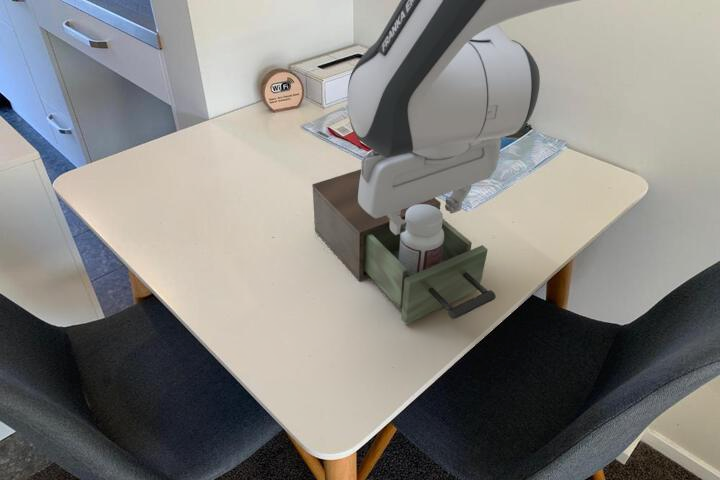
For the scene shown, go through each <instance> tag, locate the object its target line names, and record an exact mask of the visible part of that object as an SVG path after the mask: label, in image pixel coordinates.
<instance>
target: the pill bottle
mask: <svg viewBox="0 0 720 480" xmlns="http://www.w3.org/2000/svg"><path fill="white" fill-rule="evenodd" d="M443 219H444V215H443V212H442V211H441V209H440V210H439V209H438V208H436V207H434V206H431V205H426V204H418V205H414V206H412V207H410V208H409V209H408V210H407V211H406V214H405V221H406V227H405V228H406V231H405V232H403V233H401V234H400V249H399V262H400V263H401V264H402V265H403V266H404V267H406V268H407V269H408V272H407V277H409V276H412V275H414V274H416V273H418V272H421V271H423V270H425V269H428V268H430V267H432V266H435V265H437V264H439V263H441V256H442V249H443V242H444V232H443V229H442V221H443Z"/></svg>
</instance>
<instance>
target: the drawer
mask: <svg viewBox="0 0 720 480" xmlns="http://www.w3.org/2000/svg"><path fill="white" fill-rule="evenodd" d="M442 229H443V232H444V242H443V249H442V256H441V263H439V264H437V265H435V266H432V267H430V268H428V269H425V270H423V271H421V272H418V273H416V274H414V275H412V276H409V277H407V272H408V269H407V268H406V267H404V266H403V265H402V264H401V263H400V262H399V249H400V234H401V233H400V234H398V235H395V234H394V233H393V232H392V231H391V230H390V226H387V227H385V228H382V229H379V230H376V231H374V232H371V233H368V234H366V235H364V271H365V272H366V273H367V274H368V275H369V276H370V277H369V278H370V279H371V280H372V281H373V283H375V284H376V286H378V287H379V288H380V290H381V291H382V292H383V293H384V294H385V295H386V296H387V297H388V298H389V299H390V301H392V303H393V304H394V305H395V306H396V307H397V309H399V310H401V317H400V319H401V321H402V322H403V323H404V324H405V325H408V324H410V323H412V322H414V321H416V320H418V319H420V318H422V317H425V316H427V315H429V314H432V313H433V312H435V311H437V310H439V309H442V308H444V309H445V310H446V311H447V313H448V316H449V317H450V319H451V320H456V319H458V318H460V317H463V316H464V315H466V314H468V313H470V312H472V311H474V310H476V309H479V308H481V307H482V306H484V305H487V304H488V303H490V302H492V301H495V300H496V297H497V296H496V293H495V292H494V290H492V289H487V288H485V287H484V286H483V285H482V279H483V273H484V271H485V270H484V269H485V265H486V260H487V256H488V252H489V251H488V250H489V249H488V248H487V247H486V246H484V245H483V244H482V245H479V246H476V247H474V248H472V245H473V244H472V243H473V242H472V241H471V240H469V239H468V238H467V237H466V236H465V235H463V233H461V232H459V231H458V230H457V228H455V227H453V225H451V224H450V223H449V222H447V221H446V220H445V219H444V218H443V221H442ZM477 291H479V293H481V294H479V295H476V296H474V297H472V298H470V299H468V300H466V301H464V302H461V303H460V304H457V305H455V306H454V307H453V306H452V303H454V302H456V301H459V300H460V299H462V298H465V297H467V296H469V295H471V294H474V293H475V292H477Z"/></svg>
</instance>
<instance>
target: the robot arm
mask: <svg viewBox="0 0 720 480" xmlns="http://www.w3.org/2000/svg"><path fill="white" fill-rule="evenodd" d="M578 1H580V0H400V1H399V3H398V5H397V6H396V8H395V11H394V12H393V14H392V15H391V16H390V19H389V20H388V22H387V24H386V25H385V27H384V29H383V30H382V32H381V34H380V35H379V37H378V39H377V40H376V41H375V42H374V44H372V45H371V46H370V47H369V48H368V49H367V50H366V51H365V52H364V54H363V55H362V56H361V57H360V58H359V60H358V61H357V62H356V64H355V66H354V67H353V69H352V71H351V73H350V76H349V80H348V86H347V101H346V102H347V112H348V119H349V123H350V126H351V129H352V132H353V133H354V135H355V137H356V138H357V139H358V140H359V141H360V142H361V143H363V144H364V146H366V147H368V149H370V150H369V151H367V152H366V154H365V155H364V156H362V158H361V162H360V169H361V176H360V182H359V190H358V203H359V205H360V206H361V207H362V208H363V209H364V210H365V211H366V212H367V213H368V214H369V215H371V216H372V217H374V218H380V217H383V216H386V215H387V217H388V218H389V219H390V230H391V231H392V232H393V233H394V234H395V235H398V234H400V233H403V232H405V231H406V228H405V227H406V221H405V220H403V219H402V218H401V217H400V216H398V215H400V214H401V210H402V209H405V208H408V207H410V206H413V205H416V204H419V203H422V202H424V201H427V200H430V199H433V198H438V197H441V196H443V195H446V194H449V193H450V194H451V195H450V196H448V197H446V198H445V204H444V209H445V210H446V211H447V212H449V213H450V214H454V213H458V212H461V211H462V206H463V202H464V200H465V199H466V198H467V196H468V194H469V193H470V191H471V190H472V185H474V184H478V183H480V182H483V181H485V180H488V179H490V178H491V177H492V176H493V174H494V173H495V172H496V171H497V168H498V163H499V159H500V155H501V154H500V153H501V147H502V145H501V144H502V140H501V138H505V137H508V136H512V135H516V134H518V133H519V132H520V131H521V130H522V129H523V128H524V127H525V126H526V125H527V123H528V122H529V120H530V119H531V118H532V115H533V114H534V111H535V109H536V106H537V103H538V102H537V101H538V97H539V93H540V85H541V84H540V83H541V79H540V78H541V75H540V69H539V66H538V64H537V62H536V60H535V59H534V57H533V55H532V54H531V53H530V52H529V50H528V49H527V48H526V47H525V46H524V45H523V44H522V43H520V42H519V41H517V40H514V39H511V38H510V37H509V35H507V34H506V33H505V31H504V30H503V29H502V28H501V26H500V25H499V24H501V23H504V22H506V21H509V20H511V19H515V18H517V17H521V16H524V15H528V14H531V13H534V12H538V11H540V10H545V9H549V8H553V7H558V6H562V5H565V4H569V3H574V2H578Z"/></svg>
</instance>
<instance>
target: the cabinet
mask: <svg viewBox="0 0 720 480" xmlns="http://www.w3.org/2000/svg"><path fill="white" fill-rule="evenodd" d="M360 176H361V168H360V169H357V170H354V171H351V172H348V173H344V174H341V175H338V176H335V177H334V176H333V177H331V178H328V179H325V180H321V181H319V182H315V183H312V185H311V186H312V199H313V200H312V202H313V219H314V220H313V221H314V232H315V233H316V234H317V235H318V236H319V238H320V239H321V240H322V241H323V242H324V243H325V245H326V246H328V248H329V249H330V250H331V251H332V252H333V253H334V255H335V256H336V257H337V258H338V259H339V260H340V262H341V263H342V264H343V265H344V266H345V267H346V269H347V270H348V271H349V272H350V273H351V275H353V276H354V278H355V279H356V280H357V281H358V282H362V281H364V280H366V279H369V278H371V277H370V276H369V275H368V274H367V273H366V272H365V271H364V235H366V234H368V233H371V232H374V231H376V230H379V229H382V228H385V227H387V226H390V219H389V218H388V217H387V215H386V216H383V217H380V218H374V217H372V216H371V215H369V214H368V213H367V212H366V211H365V210H364V209H363V208H362V207H361V206H360V205H359V203H358V190H359V182H360ZM419 204H426V205H431V206H434V207H436V208H438V209H439V210H440V211H441V204H442V202H440V201H439V200H438V199H437V197H435V198H433V199H430V200H427V201H424V202H422V203H419ZM416 205H418V204H416ZM413 206H414V205H413ZM410 207H412V206H410ZM410 207H408V208H405V209H402V210H401V214H400V215H398V216H400V217H401V218H402V219H403V220H405V214H406V211H407V210H408V209H409V208H410Z"/></svg>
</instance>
